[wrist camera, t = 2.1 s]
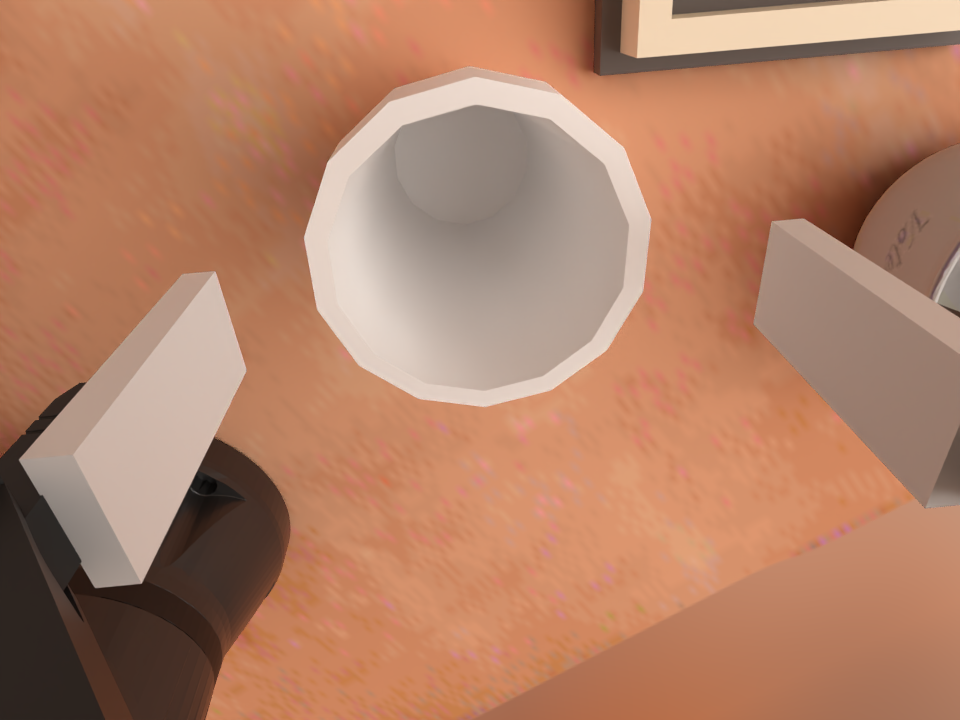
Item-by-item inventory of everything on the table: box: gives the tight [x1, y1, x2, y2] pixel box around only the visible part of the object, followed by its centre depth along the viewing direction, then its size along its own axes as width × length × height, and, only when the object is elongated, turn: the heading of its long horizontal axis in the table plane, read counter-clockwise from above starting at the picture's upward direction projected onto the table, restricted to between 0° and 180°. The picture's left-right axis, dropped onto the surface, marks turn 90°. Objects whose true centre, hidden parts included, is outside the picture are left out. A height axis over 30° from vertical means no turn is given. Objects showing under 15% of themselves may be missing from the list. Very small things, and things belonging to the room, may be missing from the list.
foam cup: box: [304, 66, 651, 407], centre depth 23 cm, size 10×9×13 cm
